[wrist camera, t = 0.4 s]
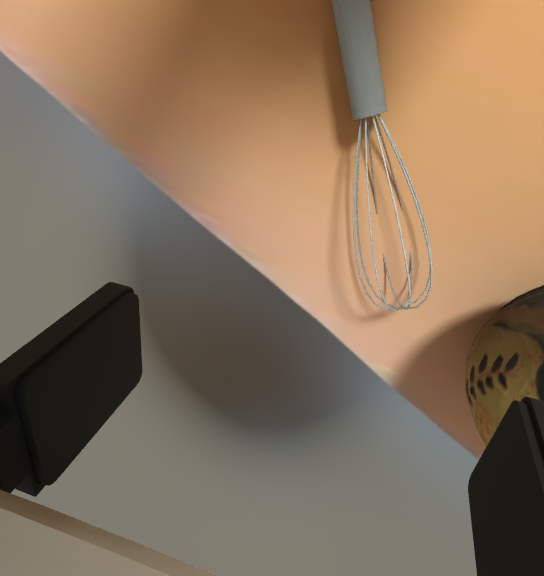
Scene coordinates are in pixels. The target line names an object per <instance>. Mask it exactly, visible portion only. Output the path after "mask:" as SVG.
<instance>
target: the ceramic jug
mask: <svg viewBox="0 0 544 576" xmlns="http://www.w3.org/2000/svg"><path fill="white" fill-rule="evenodd" d="M465 386H466V393H467V398H468V402H469V406H470V409H471V412H472V416H473V418H474V421H475V424H476V426H477V428H478V430H479V433H480V435H481V437H482V439H483V441H484V442H485V444H486V446H487V445H488V443H489V442H490V440H491V438H492V436H493V435H494V433H495V431H496V429H497V427H498V426H499V424H500V422H501V420H502V418H503V417H504V415H505V413H506V411H507V410H508V408H509V406H510V404H511V403H512V402H513V401H514V400H517V401H521V400H522V399H523V398H524V397H531V398H535V399H538V400H542V401H544V286H542V287H539V288H536V289H533V290H531V291H529V292H527V293H525V294H523V295H520V296H518V297H516V298H515V299H514V300H512V301H511V302H509V303H508V304H507V305H505V306H504V307H503V308H502V309H501V310H500V311H499V312H497V313H496V314H495V315H494V316H493V317H492V318H491V319H490V320H489V321H488V322H487V323H486V324H485V325H484V327H483V328H482V329H481V330H480V331H479V333H478V334H477V336H476V338H475V340H474V342H473V345H472V348H471V350H470V352H469V355H468V357H467V365H466V376H465Z"/></svg>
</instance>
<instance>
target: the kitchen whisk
mask: <svg viewBox="0 0 544 576" xmlns="http://www.w3.org/2000/svg"><path fill="white" fill-rule="evenodd" d="M331 2H332V8H333V13H334V19H335V24H336V30H337V35H338V41H339V46H340V52H341V57H342V63H343V68H344V74H345V79H346V85H347V90H348V96H349V101H350V107H351V113H352V118H353V120H357V119H360V126H359V134H358V143H357V153H356V163H355V177H354V196H353V236H354V248H355V258H356V263H357V268H358V273H359V278H360V280H361V283H362V285H363V288H364V290H365V293H366V294H367V295H368V297H369V298H370V299H371V300H372V302H373V303H374V304H375V305H377V306H380V307H382V308H384V309H386V310H392V311H394V312H396V311H397V310H399V309H402V310H404V309H406V310H408V309H412V308H418V307H419V306H420V305H421V304H422V303H424V302H425V301H426V300H427V298H428V295H429V292H430V290H431V287H432V262H431V261H432V257H431V249H430V242H429V236H428V232H427V228H426V224H425V220H424V216H423V213H422V210H421V207H420V204H419V201H418V198H417V195H416V192H415V190H414V187H413V185H412V182H411V180H410V177H409V175H408V172H407V170H406V168H405V165H404V163H403V161H402V159H401V156H400V154H399V152H398V150H397V148H396V145H395V143H394V141H393V139H392V137H391V135H390V133H389V131H388V129H387V127H386V125H385V123H384V121H383V119H382V117H381V115H380V113H383V112H387V106H386V100H385V93H384V87H383V80H382V74H381V67H380V61H379V54H378V48H377V41H376V35H375V28H374V22H373V15H372V9H371V2H370V0H331ZM373 115H374V116H373ZM375 115H378V117H379V119H380V121H381V123H382V125H383V127H384V130H385V132H386V134H387V136H388V138H389V140H390V142H391V145H392V147H393V149H394V151H395V153H396V156H397V158H398V161H399V163H400V165H401V168H402V170H403V173H404V175H405V177H406V180H407V183H408V185H409V188H410V191H411V193H412V196H413V199H414V201H415V204H416V208H417V211H418V214H419V217H420V220H421V223H422V227H423V231H424V235H425V239H426V243H427V247H428V253H429V260H430V275H429V278H428V282H427V285H426V288H425V290H424V292H423V293H422V294H421V295H420V296H419V298H418V299H417V300H416V301H414V302H412V303H410V302H411V287H412V273H413V269H412V256H411V252H410V262H411V284H410V280H409V272H408V266H407V260H406V254H405V248H404V243H403V238H402V233H401V228H400V223H399V219H398V214H397V210H396V205H395V201H394V196H393V192H392V188H391V183H390V179H389V175H388V171H387V167H386V163H385V159H384V155H383V151H382V147H381V143H380V139H379V135H378V131H377V127H378V130H379V133H380V136H381V139H382V143H383V146H384V149H385V152H386V155H387V159H388V162H389V165H390V169H391V172H392V175H393V179H394V183H395V186H396V190H397V193H398V197H399V201H400V205H401V208H402V203H401V199H400V195H399V191H398V187H397V184H396V180H395V177H394V173H393V170H392V166H391V163H390V159H389V156H388V153H387V150H386V146H385V143H384V140H383V137H382V134H381V131H380V128H379V125H378V122H377V119H376V116H375ZM369 116H372V119H373V123H374V127H375V130H376V134H377V138H378V142H379V146H380V150H381V154H382V158H383V162H384V166H385V170H386V174H387V178H388V182H389V187H390V191H391V195H392V200H393V204H394V208H395V213H396V218H397V222H398V227H399V232H400V237H401V242H402V247H403V252H404V258H405V264H406V270H407V277H408V286H409V293H408V297H407V299H406V300H405V302H404V304H403V305H402V304H401V303H400V302H399V300H398V299H397V297H396V295H395V292H394V290H393V287H392V284H391V281H390V278H389V274H388V270H387V266H386V261H385V257H384V254H383V258H384V263H385V267H386V272H387V276H388V279H389V282H390V286H391V289H392V291H393V293H394V296H395V298H396V300H397V301H398V303H399V304H400V306H401V307H396V306H393V305H389V304H387V303H386V301H385V299H384V297H383V294H382V290H381V287H380V283H379V279H378V274H377V268H376V263H375V256H374V248H373V240H372V230H371V218H370V205H369V188H368V165H367V127H368V139H369V150H370V161H371V171H372V181H373V190H374V199H375V207H376V213H377V203H376V195H375V185H374V176H373V165H372V155H371V143H370V131H369V118H368V117H369ZM363 118H365V157H366V183H367V200H368V215H369V226H370V237H371V245H372V253H373V261H374V267H375V272H376V277H377V282H378V286H379V289H380V293H381V296H382V299H383V300H384V301H383V300H382V299H381V298H380V297H379V296H377V294H376V293H375V291H374V289H373V288H372V286H371V285H370V283H369V280H368V277H367V274H366V271H365V268H364V264H363V259H362V254H361V249H360V239H359V228H358V175H359V157H360V143H361V133H362V123H363ZM374 118H375V120H374ZM375 121H376V123H375ZM376 124H377V127H376ZM357 159H358V162H357ZM400 160H401V161H400ZM403 167H404V168H403ZM356 171H357V184H356ZM405 172H406V173H405ZM406 174H407V175H406ZM407 177H408V178H407ZM408 179H409V180H408ZM409 182H410V183H409ZM410 184H411V185H410ZM355 185H356V215H357V234H358V244H359V251H360V257H361V262H362V267H363V270H364V273H365V276H366V279H367V282H368V284H369V286H370V287H371V289H372V290H373V292H374V294H375V295H376V297H378V298H379V299H380V300H381V301H382V302H384V303H385V304H386V306H387V308H385V307H383V306H381V305H379V304H376V303H375V302H374V301H373V299H372V298H371V297H370V296H369V294H368V293H367V292H366V289H365V286H364V284H363V281H362V279H361V276H360V271H359V265H358V260H357V253H356V242H355ZM411 187H412V188H411ZM412 189H413V191H412ZM413 192H414V193H413ZM414 194H415V196H414ZM415 197H416V199H415ZM416 200H417V202H416ZM417 203H418V205H417ZM418 206H419V208H418ZM402 209H403V208H402ZM419 209H420V211H419ZM420 212H421V214H420ZM421 215H422V217H421ZM422 219H423V220H422ZM429 280H430V288H429V290H428V293H427V296H426V299H425V300H424V301H422V302H421V303H420V304H419V305H418V306H416V307H409V306H410V305H411V304H413V303H415V302H417V301H418V300H419V299H420V298H421V296H422V295H423V294H424V293H425V291H426V290H427V287H428V284H429ZM408 298H409V304H408V305H406V306H404V305H405V303H406V302H407V300H408ZM389 306H391V307H395V308H390V307H389ZM407 306H408V307H407ZM406 307H407V308H406ZM393 309H396V310H393Z"/></svg>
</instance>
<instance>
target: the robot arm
mask: <svg viewBox="0 0 544 576" xmlns="http://www.w3.org/2000/svg"><path fill="white" fill-rule="evenodd" d="M141 375H142V357H141V337H140V316H139V299H138V296H137V295H136V294H134V291H133V289H132V288H131V287H128V286H124V285H121V284H117V283H114V282H109V283H107V284H105V285H104V286H103V287H102V288H100V289H99V290H98V291H96V292H95V293H94V294H92V295H91V296H90V297H88V298H87V299H86V300H84V301H83V302H82V303H80V304H79V305H78V306H76V307H75V308H74V309H72V310H71V311H70V312H68V313H67V314H66V315H64V316H63V317H62V318H60V319H59V320H58V321H56V322H55V323H54V324H52V325H51V326H50V327H48V328H47V329H46V330H44V331H43V332H42V333H40V334H39V335H38V336H36V337H35V338H34V339H32V340H31V341H30V342H28V343H27V344H26V345H24V346H23V347H22V348H20V349H19V350H18V351H16V352H15V353H14V354H12V355H11V356H10V357H8V358H7V359H6V360H4V361H3V362H2V363H0V576H219V575H216V574H213V573H211V572H209V571H206V570H204V569H201V568H199V567H196V566H194V565H191V564H188V563H186V562H184V561H181V560H179V559H176V558H174V557H171V556H169V555H166V554H164V553H161V552H159V551H156V550H153V549H151V548H149V547H146V546H144V545H141V544H139V543H136V542H134V541H131V540H129V539H126V538H124V537H121V536H119V535H116V534H113V533H111V532H108V531H106V530H103V529H101V528H98V527H96V526H93V525H91V524H88V523H86V522H83V521H80V520H78V519H75V518H73V517H70V516H68V515H65V514H63V513H60V512H58V511H55V510H53V509H50V508H48V507H45V506H43V505H40V504H37V503H35V502H32V501H29V500H27V499H24V498H21V497H18V496H16V495H13V494H10V493H11V492H12V491H13V490H14V489H15V488H16V489H17V490H19V491H22V492H25V493H27V494H29V495H32V496H37V495H38V494H39V492H40V491H41V490H42V489H43V488H44V486H45V485H51V484H53V483H54V482H55V481H56V480H57V479H58V477H60V475H61V474H62V473H63V472H64V471H65V469H66V468H67V467H68V466H69V465H70V464H71V462H72V461H73V460H74V459H75V457H76V456H77V455H78V454H79V453H80V452H81V450H82V449H83V448H84V447H85V446H86V444H87V443H88V442H89V441H90V440H91V439H92V437H93V436H94V435H95V434H96V433H97V432H98V430H99V429H100V428H101V427H102V426H103V424H104V423H105V422H106V421H107V419H108V418H109V417H110V416H111V415H112V414H113V413H114V411H115V410H116V409H117V408H118V407H119V405H120V404H121V403H122V402H123V401H124V400H125V398H126V397H127V396H128V395H129V393H130V392H131V391H132V390H133V389H134V388H135V386H136V385H137V384H138V383H139V381H140V378H141ZM468 493H469V503H470V512H471V521H472V531H473V540H474V550H475V559H476V568H477V576H544V401H542V400H538V399H535V398H531V397H524V398H523V399H522V400H521V401H517V400H514V401H513V402H512V403H511V404H510V406H509V408H508V410H507V411H506V413H505V415H504V417H503V418H502V420H501V422H500V424H499V426H498V427H497V429H496V431H495V433H494V435H493V436H492V438H491V440H490V442H489V443H488V445H487V447H486V449H485V451H484V452H483V454H482V456H481V458H480V460H479V461H478V463H477V465H476V467H475V469H474V470H473V472H472V474H471V476H470V479H469V485H468Z"/></svg>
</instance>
